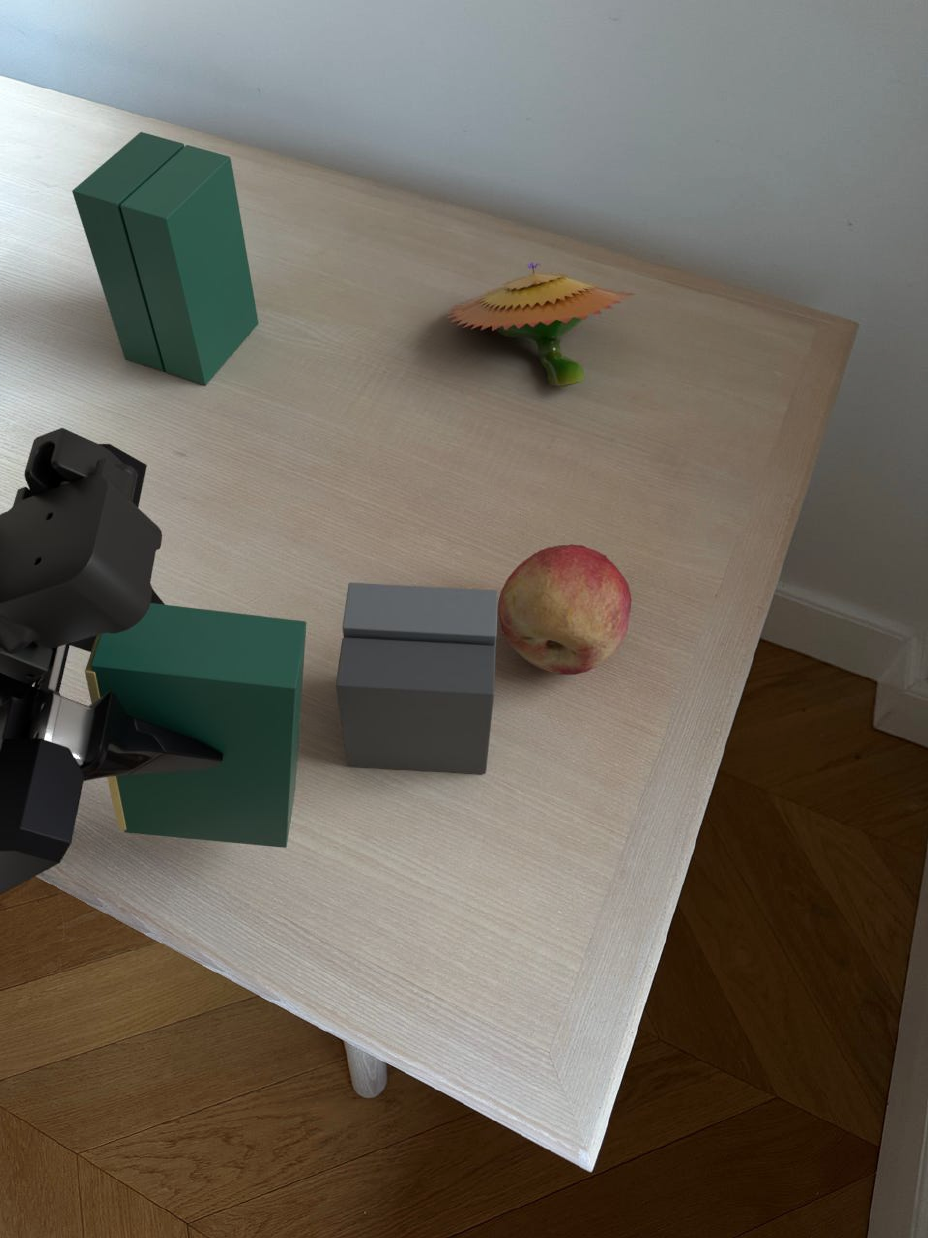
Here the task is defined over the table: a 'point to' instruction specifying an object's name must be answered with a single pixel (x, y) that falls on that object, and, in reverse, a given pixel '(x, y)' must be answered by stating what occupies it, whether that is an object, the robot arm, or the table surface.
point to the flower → (540, 315)
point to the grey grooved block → (417, 677)
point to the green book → (209, 720)
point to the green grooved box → (170, 254)
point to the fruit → (565, 609)
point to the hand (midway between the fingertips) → (222, 721)
